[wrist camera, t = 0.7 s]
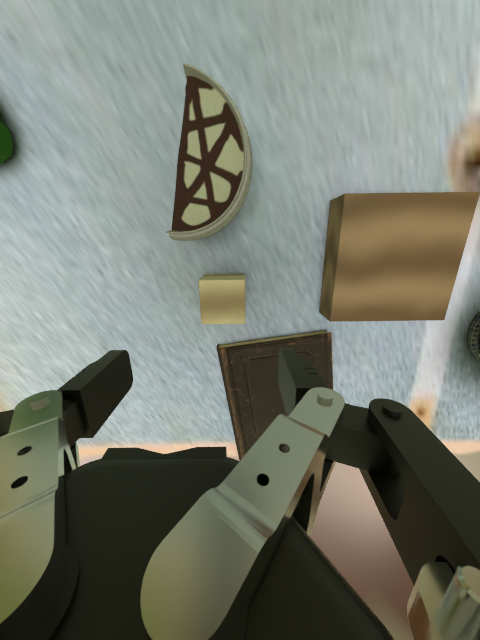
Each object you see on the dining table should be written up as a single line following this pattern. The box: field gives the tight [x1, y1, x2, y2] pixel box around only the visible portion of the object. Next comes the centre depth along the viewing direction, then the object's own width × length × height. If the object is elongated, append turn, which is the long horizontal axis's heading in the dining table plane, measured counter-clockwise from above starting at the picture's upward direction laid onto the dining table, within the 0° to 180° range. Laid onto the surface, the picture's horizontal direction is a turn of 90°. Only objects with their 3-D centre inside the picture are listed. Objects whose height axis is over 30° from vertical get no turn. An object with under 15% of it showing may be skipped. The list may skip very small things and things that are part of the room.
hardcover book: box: [217, 331, 333, 461], centre depth 36 cm, size 16×23×2 cm
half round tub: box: [167, 63, 252, 241], centre depth 23 cm, size 12×6×10 cm, turn 168°
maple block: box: [199, 273, 245, 324], centre depth 28 cm, size 5×5×6 cm
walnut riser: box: [319, 192, 480, 321], centre depth 28 cm, size 14×14×4 cm
